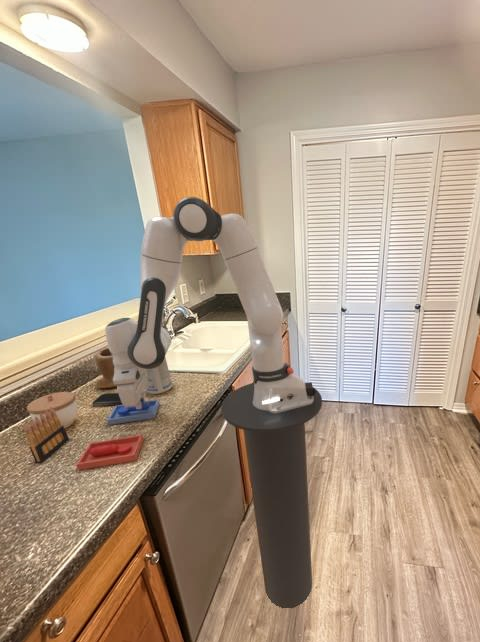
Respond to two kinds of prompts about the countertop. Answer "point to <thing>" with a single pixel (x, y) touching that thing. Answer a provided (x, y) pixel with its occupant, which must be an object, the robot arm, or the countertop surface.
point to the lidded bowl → (55, 407)
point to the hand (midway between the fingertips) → (140, 405)
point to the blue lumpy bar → (133, 409)
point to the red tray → (110, 459)
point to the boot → (105, 368)
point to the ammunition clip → (45, 435)
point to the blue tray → (134, 414)
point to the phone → (107, 399)
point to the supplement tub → (158, 379)
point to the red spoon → (111, 449)
